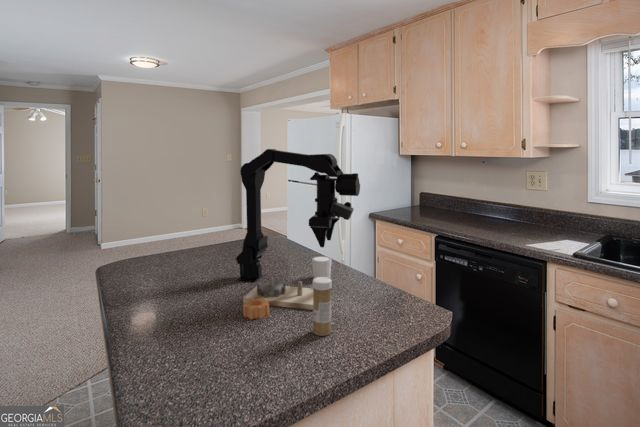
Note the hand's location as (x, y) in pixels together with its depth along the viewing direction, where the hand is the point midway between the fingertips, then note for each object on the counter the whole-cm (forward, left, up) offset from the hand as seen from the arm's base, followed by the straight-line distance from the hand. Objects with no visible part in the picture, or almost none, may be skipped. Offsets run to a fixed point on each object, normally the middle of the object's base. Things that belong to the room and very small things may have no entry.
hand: (325, 243), depth 120 cm
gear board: (-9, -12, -14) cm, 21 cm away
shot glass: (-3, +8, -15) cm, 17 cm away
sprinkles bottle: (+7, -30, -15) cm, 34 cm away
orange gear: (-13, -24, -14) cm, 31 cm away
